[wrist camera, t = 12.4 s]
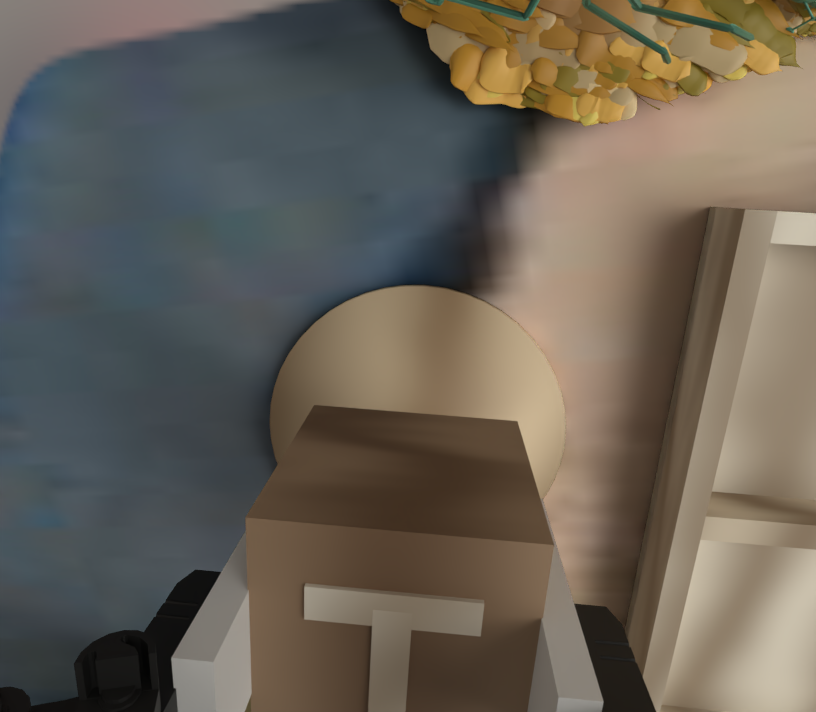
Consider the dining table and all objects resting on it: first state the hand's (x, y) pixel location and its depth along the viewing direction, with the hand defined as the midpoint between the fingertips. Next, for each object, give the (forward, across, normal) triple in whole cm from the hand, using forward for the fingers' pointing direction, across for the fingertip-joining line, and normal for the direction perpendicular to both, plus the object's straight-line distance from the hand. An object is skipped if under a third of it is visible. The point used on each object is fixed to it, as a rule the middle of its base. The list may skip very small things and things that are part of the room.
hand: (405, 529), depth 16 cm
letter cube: (+1, 0, 0) cm, 1 cm away
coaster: (+7, 0, 0) cm, 7 cm away
